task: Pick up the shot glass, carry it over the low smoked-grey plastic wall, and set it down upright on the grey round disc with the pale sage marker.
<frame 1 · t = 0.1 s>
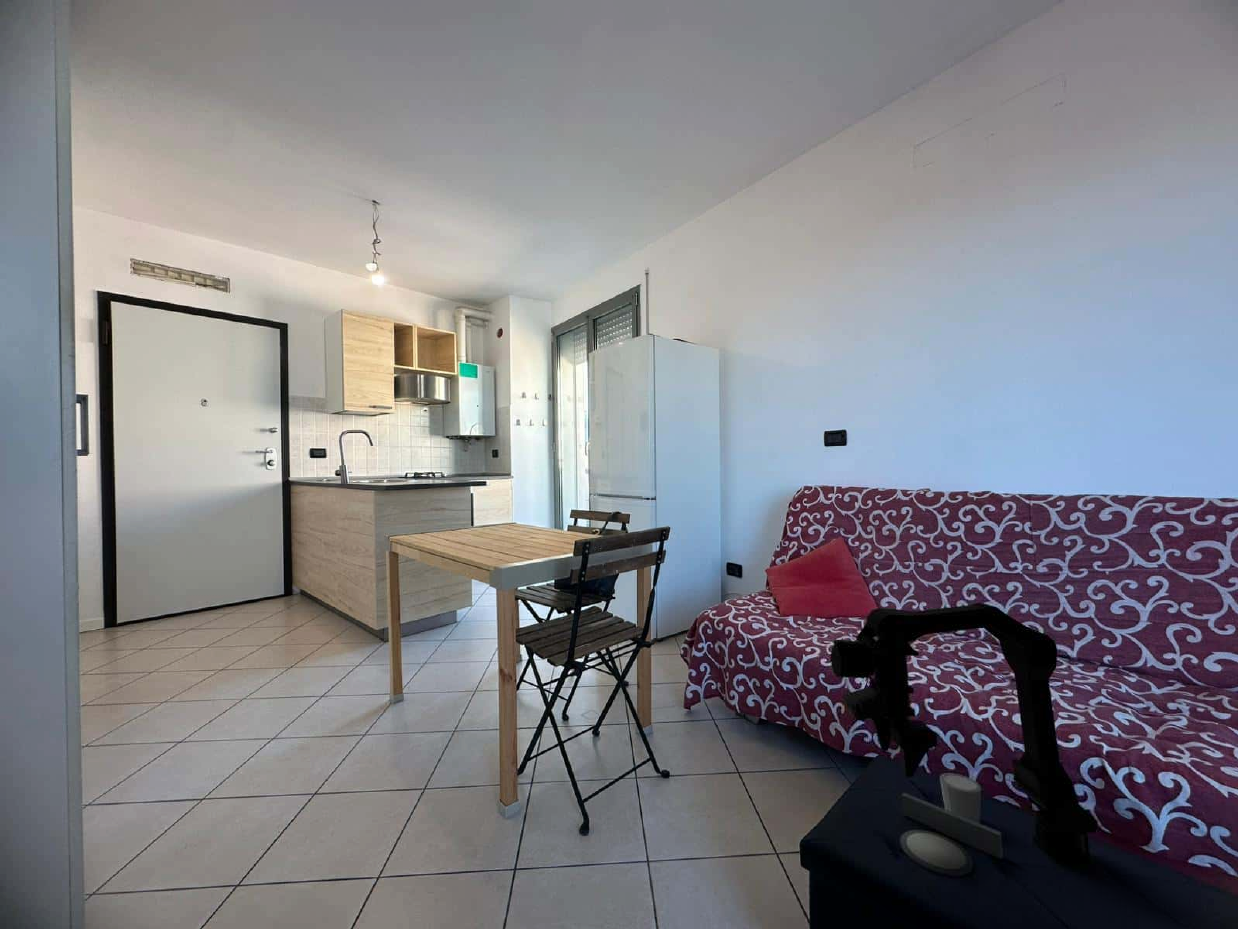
hand: (896, 763, 89), 15 cm above the table, tool pointing down, fingers open, 9 cm apart
shot glass: (962, 819, 95), on the table
grey round disc: (935, 853, 86), on the table
low wall: (949, 834, 91), on the table
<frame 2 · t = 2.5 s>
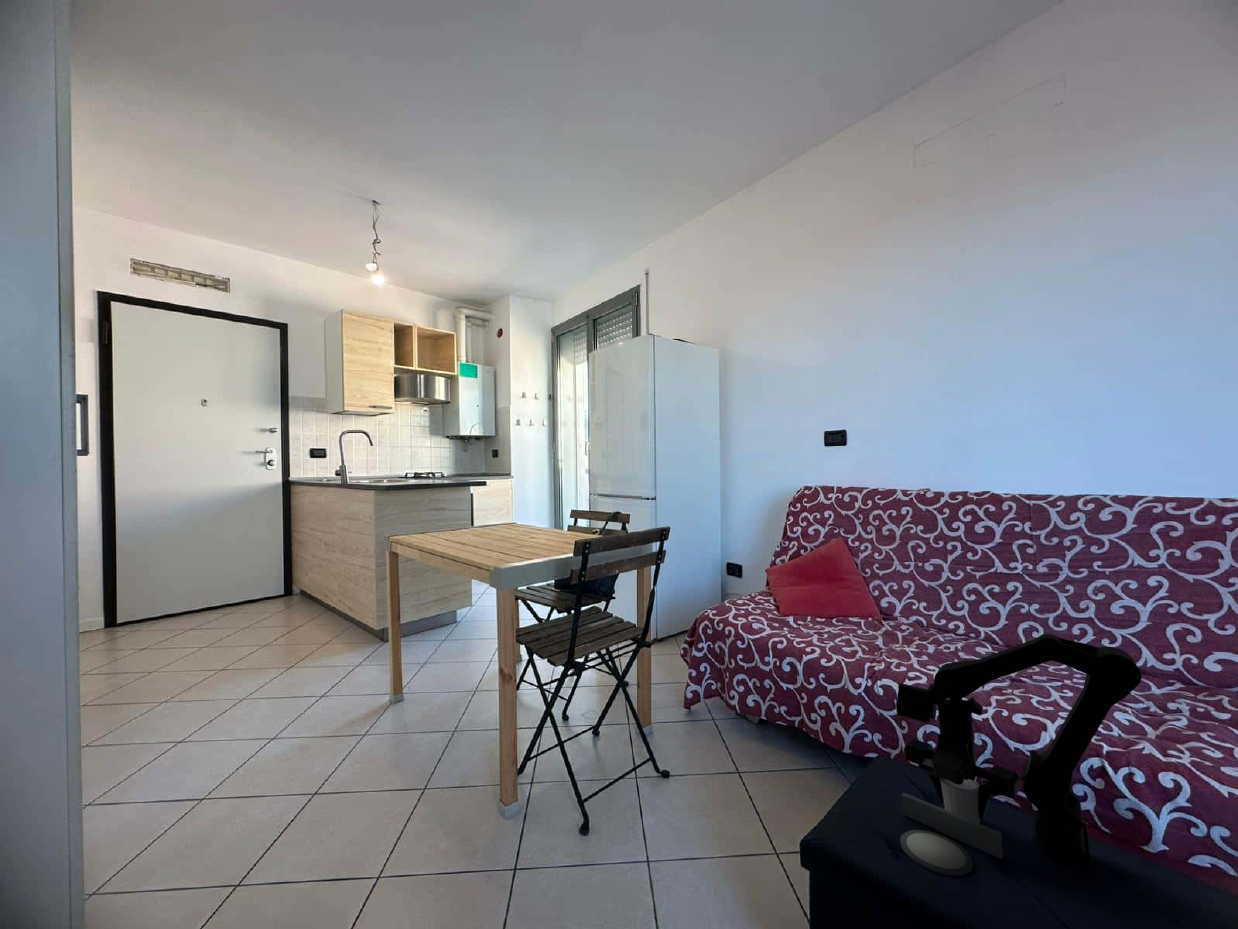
hand: (962, 810, 96), 2 cm above the table, tool pointing down, fingers closed on shot glass, 6 cm apart
shot glass: (962, 819, 95), on the table, touching gripper
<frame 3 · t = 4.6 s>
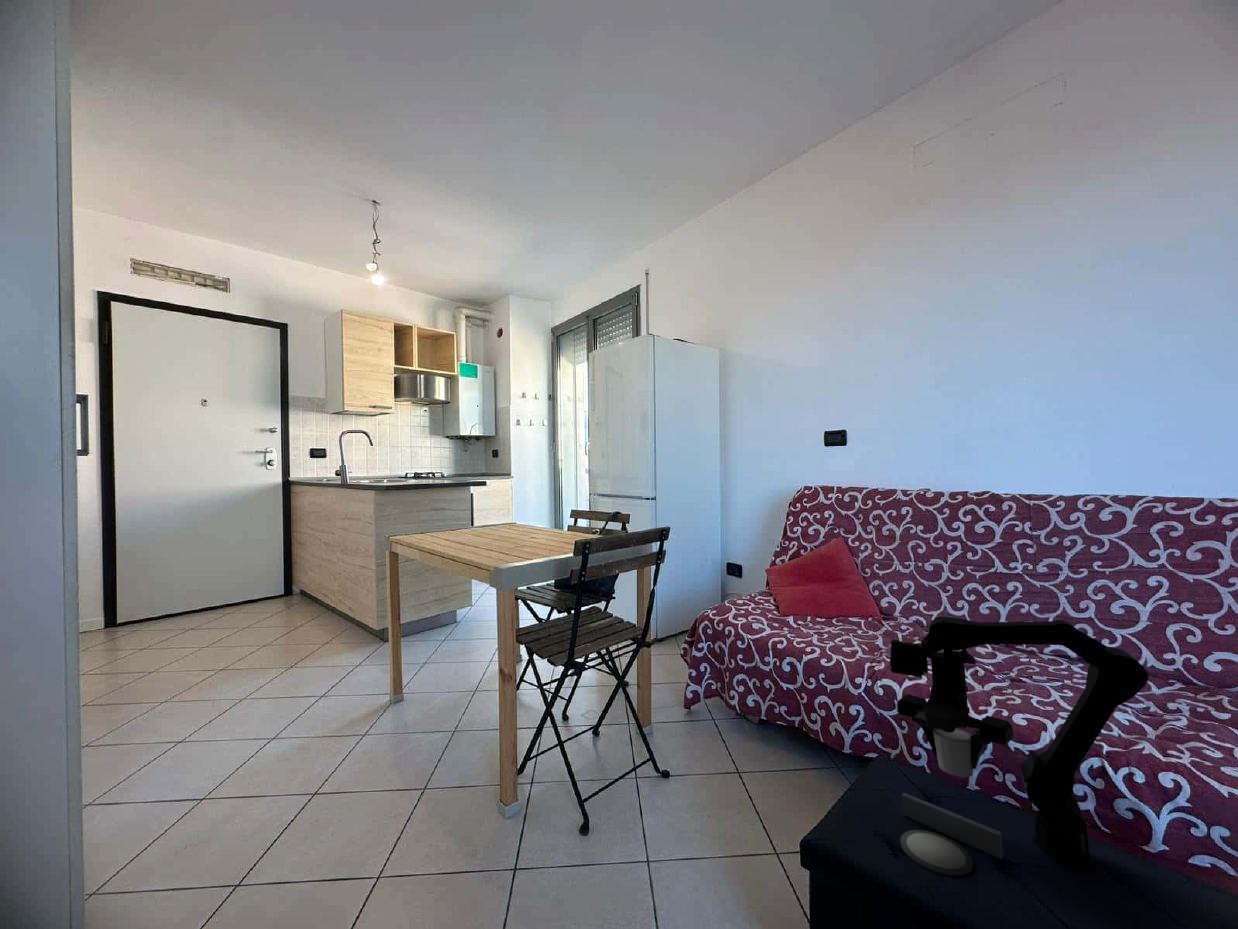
hand: (954, 761, 95), 11 cm above the table, tool pointing down, fingers closed on shot glass, 6 cm apart
shot glass: (955, 770, 95), point 10 cm above the table, touching gripper
when the fingers open (3 cm above the table, at t = 7.0 s): shot glass drops 1 cm, resting on grey round disc.
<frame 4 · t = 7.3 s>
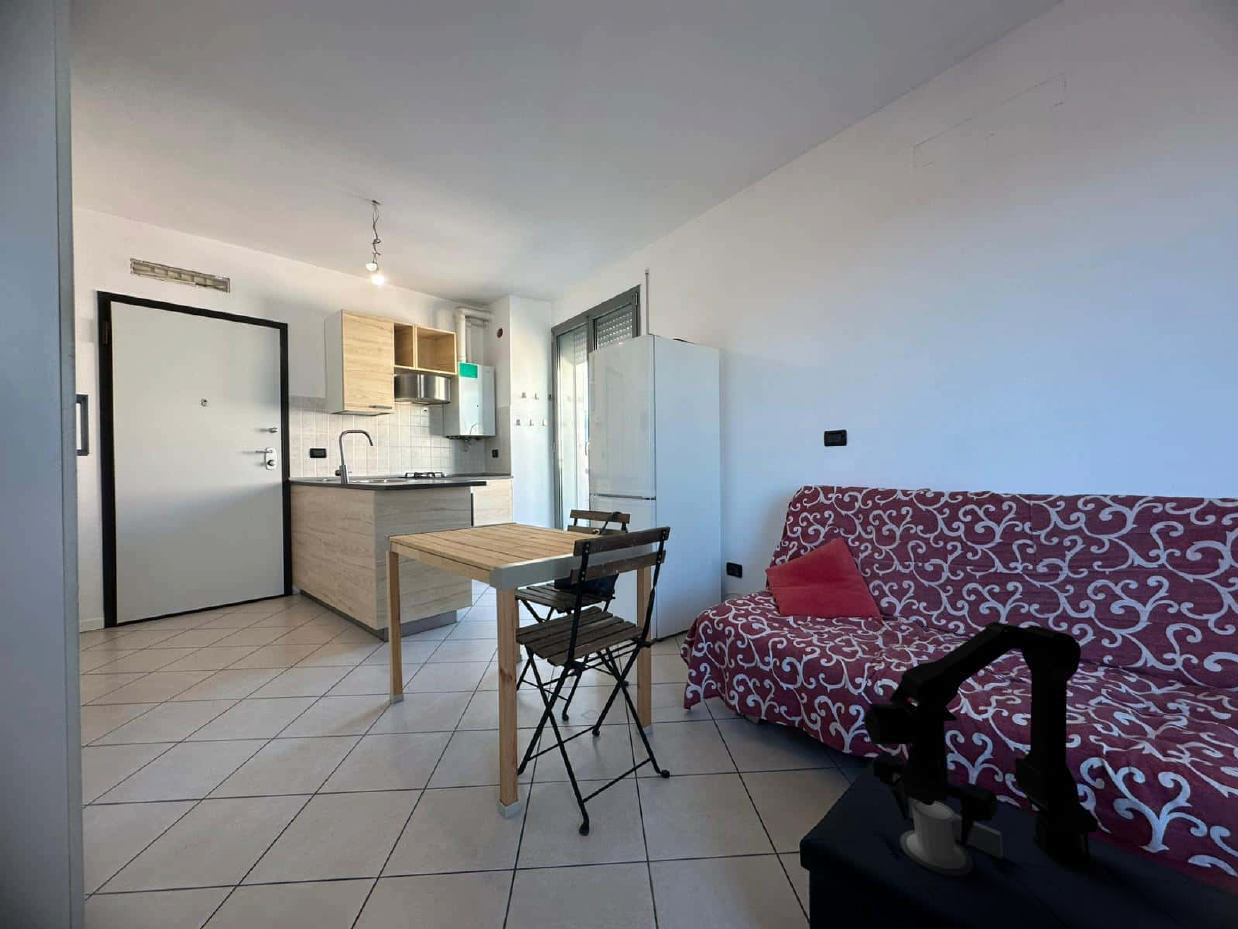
hand: (934, 832, 86), 3 cm above the table, tool pointing down, fingers open, 9 cm apart
shot glass: (935, 851, 86), resting on grey round disc
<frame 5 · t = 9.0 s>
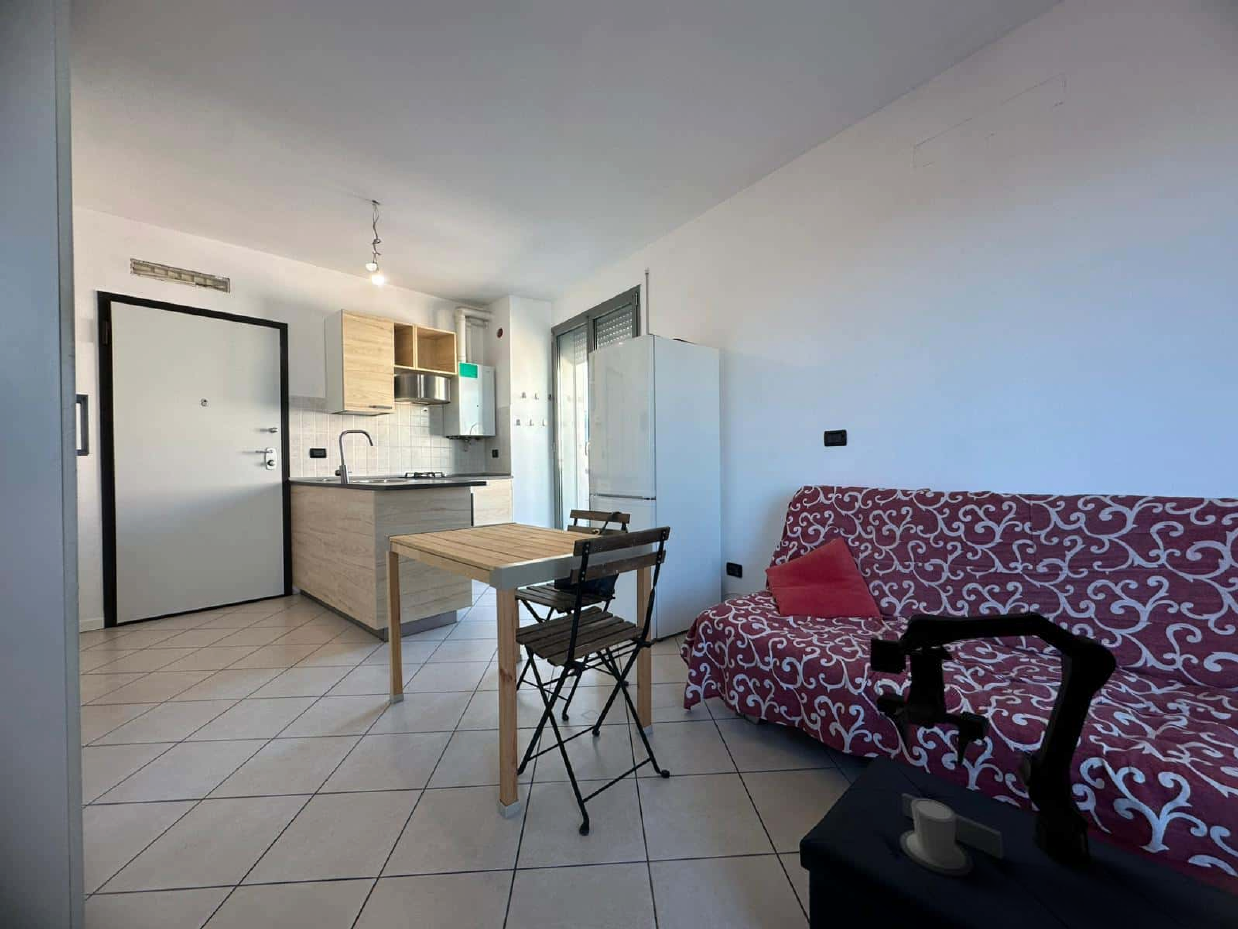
hand: (933, 757, 96), 12 cm above the table, tool pointing down, fingers open, 9 cm apart
nothing on the table moved.
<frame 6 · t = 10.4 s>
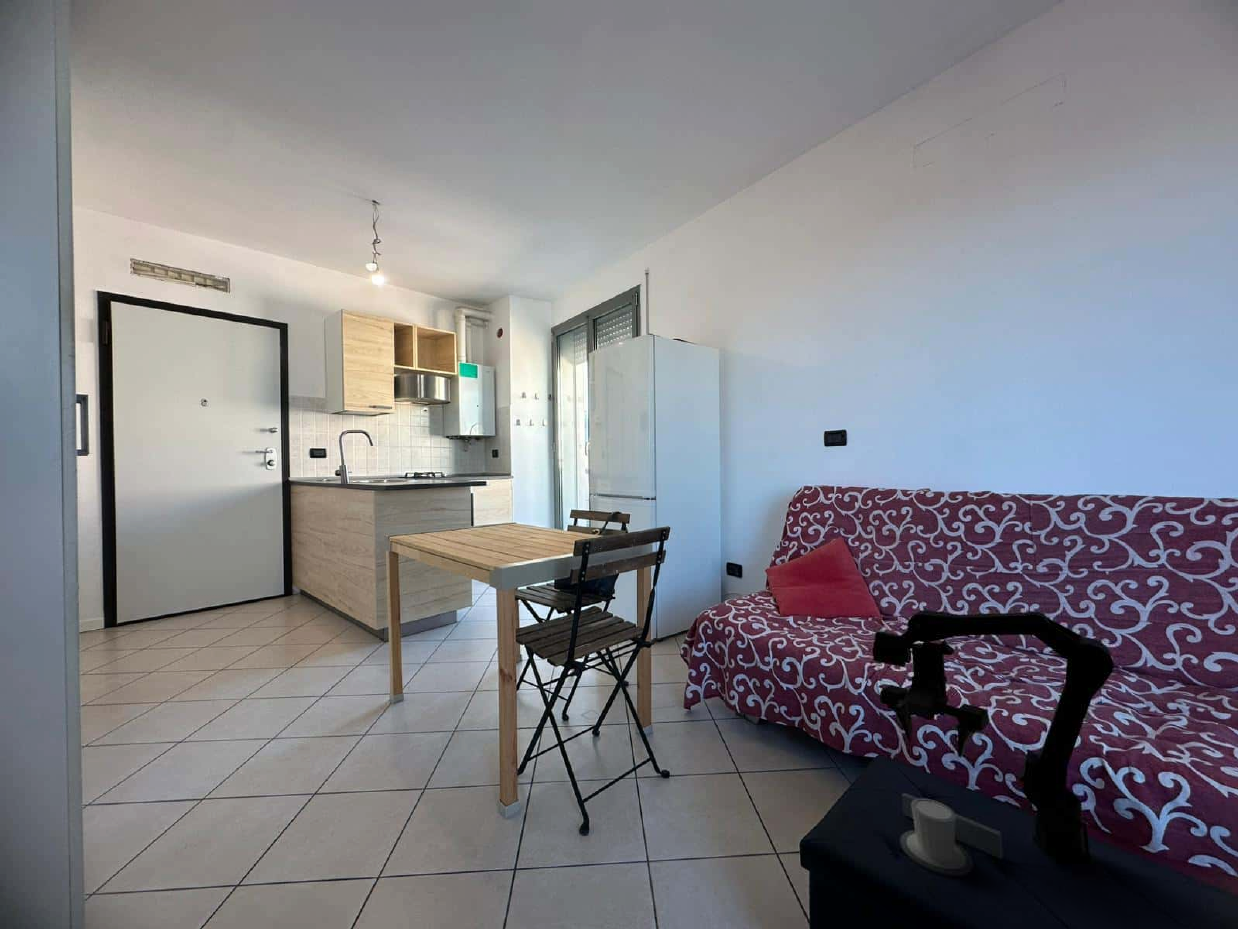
hand: (934, 748, 100), 12 cm above the table, tool pointing down, fingers open, 9 cm apart
nothing on the table moved.
at the end: shot glass 0.1 cm off-centre on the grey round disc, point 0.3 cm above the grey round disc's base; shot glass tilted 0°; the gripper is holding nothing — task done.
